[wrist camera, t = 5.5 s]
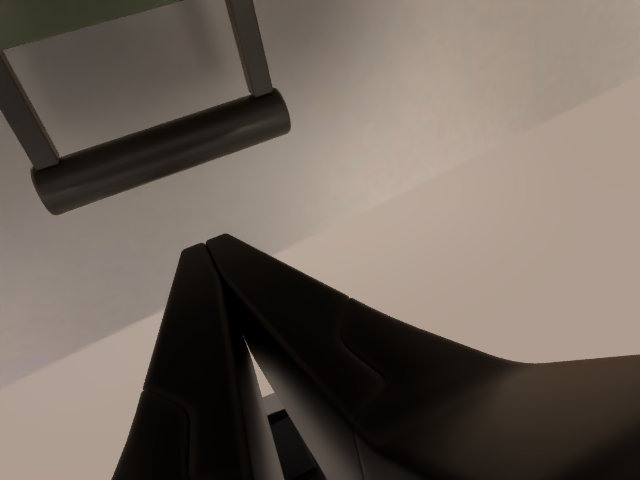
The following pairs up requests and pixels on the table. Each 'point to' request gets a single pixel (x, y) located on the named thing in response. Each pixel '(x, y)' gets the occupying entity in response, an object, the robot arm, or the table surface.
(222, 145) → the drawer
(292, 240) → the table surface
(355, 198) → the table surface
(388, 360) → the robot arm
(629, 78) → the table surface
